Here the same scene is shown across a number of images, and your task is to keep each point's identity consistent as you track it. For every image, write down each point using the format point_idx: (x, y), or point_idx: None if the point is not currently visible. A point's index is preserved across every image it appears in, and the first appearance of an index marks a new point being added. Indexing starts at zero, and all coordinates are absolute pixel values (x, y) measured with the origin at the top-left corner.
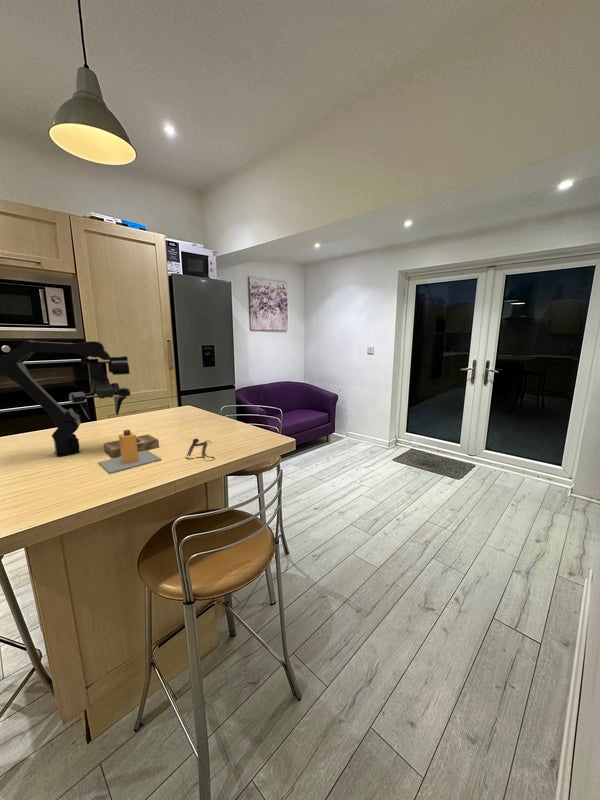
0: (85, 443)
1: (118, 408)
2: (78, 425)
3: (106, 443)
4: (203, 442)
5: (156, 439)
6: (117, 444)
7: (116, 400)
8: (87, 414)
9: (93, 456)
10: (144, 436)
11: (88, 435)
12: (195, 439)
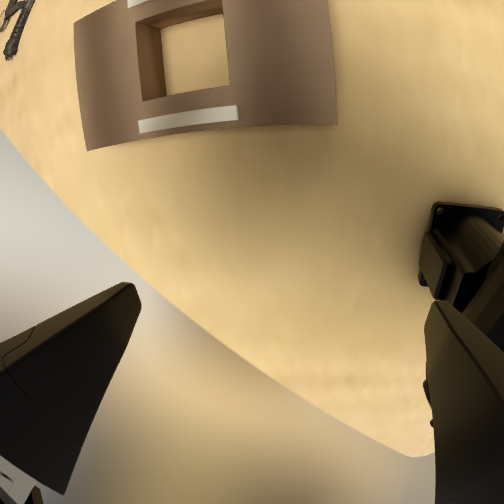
0: (356, 324)
1: (64, 318)
2: (489, 296)
3: (321, 110)
4: (8, 14)
5: (78, 29)
6: (265, 36)
7: (24, 422)
8: (487, 339)
9: (401, 77)
10: (104, 118)
11: (307, 395)
12: (7, 43)
